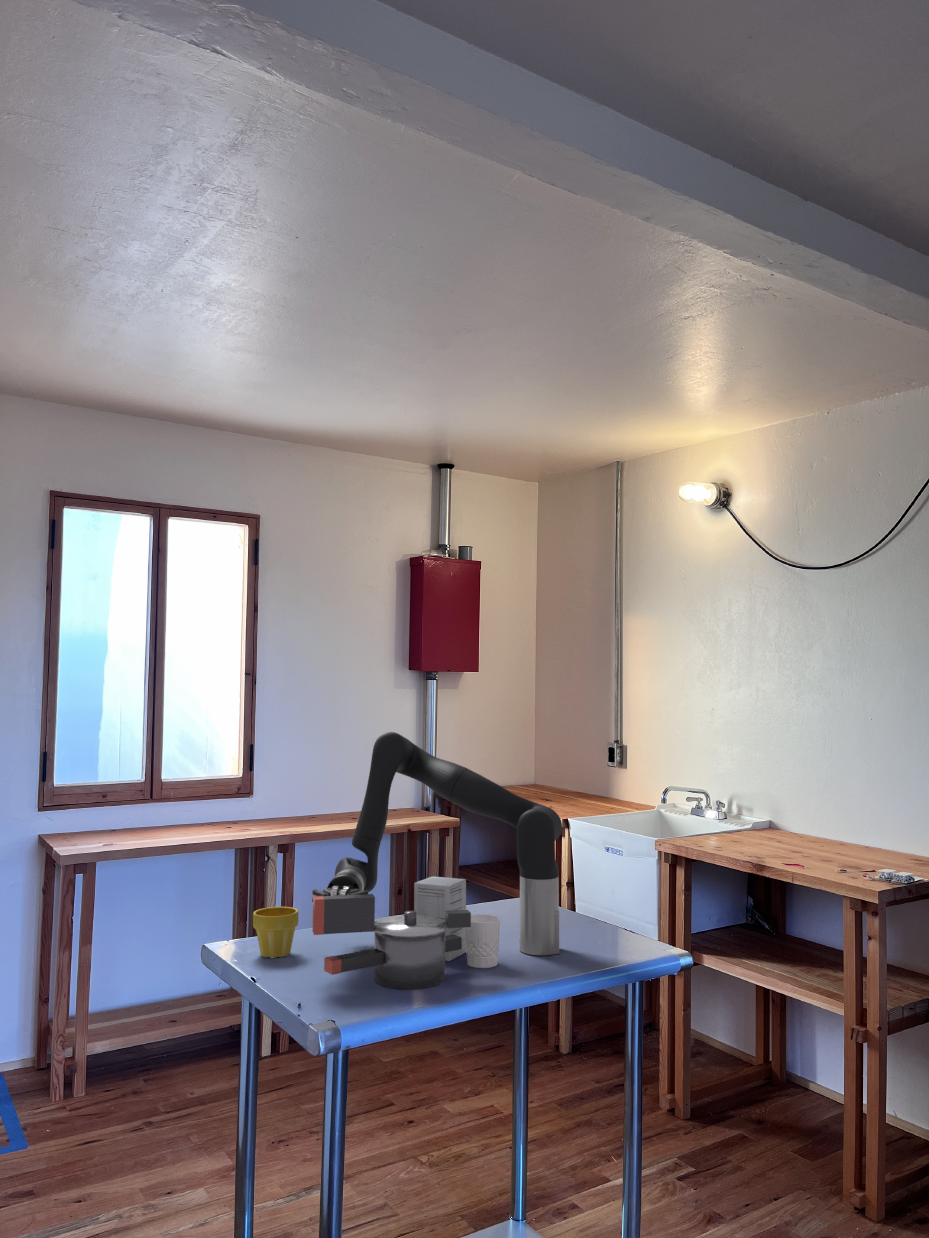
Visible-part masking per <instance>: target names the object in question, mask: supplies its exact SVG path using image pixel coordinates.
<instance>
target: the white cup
mask: <svg viewBox="0 0 929 1238" xmlns="http://www.w3.org/2000/svg"><path fill="white" fill-rule="evenodd" d="M465 928H466V961H467V962H466V963H467V966H469V967H471V968H477V969H489V968H494V967H496V966H498V959H499V957H498V956H499V952H500V951H499V949H500V935H501V934H500V930H501V929H500V928H501V918H500V916H497V915H493V914H481V913H479V914H471V927H465Z"/></svg>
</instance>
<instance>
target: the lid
mask: <svg viewBox="0 0 929 1238" xmlns="http://www.w3.org/2000/svg"><path fill="white" fill-rule="evenodd" d="M375 903H376V897H375V895H374V894H373V893H368V894H361V895H338V896H313V902H312V933H313V936H320V935H332V934H333V935H334V934H350V933H351V934H352V933H353V934H354V933H369V932H370V933H374V934H375V933H377V934H380V935H383V936H388V937H395V938H423V937H431V936H436V935H439V934H442V933H444V932H446V931H447V928H464V927H471V915H472V913H471V911H470V910H468V909H466V910H451V911H445V920H443V919H440V918H436V917H431V916H422V915H417V912H416V911H414V910H406V911H404V915H393V916H386V917H383V918H379V919H377V920H376V919H375V914H376V904H375Z"/></svg>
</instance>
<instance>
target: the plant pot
mask: <svg viewBox="0 0 929 1238" xmlns="http://www.w3.org/2000/svg"><path fill="white" fill-rule="evenodd" d="M298 925H299V910H298V908H295V907H291V906H271V907H270V906H269V907H265V908H260V909H257V910H254V911H253V914H252V926H253V929H255V931H256V936H257V941H258V946H259V951H260V953H259V954H260V956H261V955H262V956H261V957H263V956H264V957H263V958H266V957H273V958H272V959H277V958H276V957H280V958H284V956H285V957H287V955H288V956H289V955H290V954H291V951H292V947H293V941H294V936H295V932H296V927H298Z"/></svg>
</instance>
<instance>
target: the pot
mask: <svg viewBox="0 0 929 1238" xmlns="http://www.w3.org/2000/svg"><path fill="white" fill-rule="evenodd" d="M460 949H462V937H459V936H456V935H447V936H445V932H444V933H442V934H439V935H436V936H431V937H423V938H395V937H388V936H383V935H380V934H377V933H375V932H374V948H371V949H366V950H361V951H360V950H359V951H354V952H349V953H344V954H343V953H342V954H338V955H330V956H325V957H323V971H324V972H326V973H328V974H330V975H332V976H333V975H338V974H342V973H347V972H351V971H356V970H361V969H367V968H372V967H373V981H374V982H375V983H376V984H377V985H378V986H381V987H383V988H388V989H393V990H404V991H408V990H409V991H412V990H413V991H414V990H424V989H425V990H426V989H431V988H434V987H437V986H439V985H441V984H442V983H444V982H445V981H446V961H445V952H450V951H455V950H460Z"/></svg>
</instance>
